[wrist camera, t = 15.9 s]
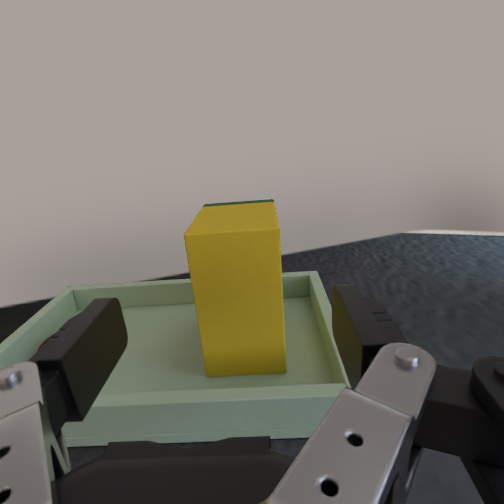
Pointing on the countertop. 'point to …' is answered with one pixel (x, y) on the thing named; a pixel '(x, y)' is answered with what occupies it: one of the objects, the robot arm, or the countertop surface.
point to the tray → (194, 368)
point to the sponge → (238, 287)
